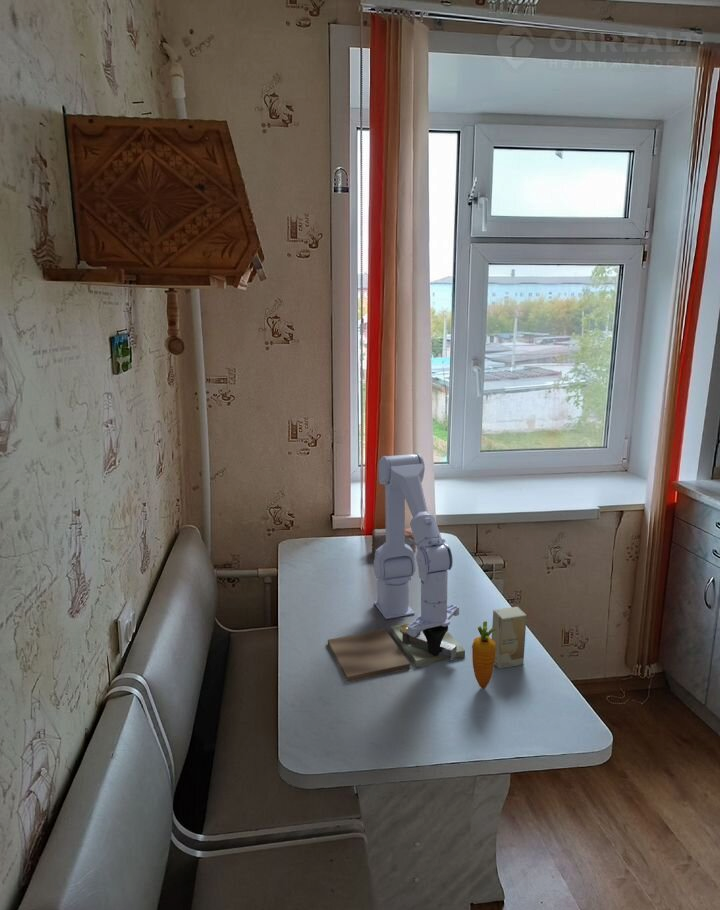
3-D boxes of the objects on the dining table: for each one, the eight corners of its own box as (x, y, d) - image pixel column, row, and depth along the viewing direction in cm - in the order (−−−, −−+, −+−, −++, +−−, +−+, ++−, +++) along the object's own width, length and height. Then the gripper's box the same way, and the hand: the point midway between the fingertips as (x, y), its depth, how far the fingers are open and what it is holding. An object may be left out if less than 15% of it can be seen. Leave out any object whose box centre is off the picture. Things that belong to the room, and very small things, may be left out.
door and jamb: (327, 644, 149) (327, 629, 148) (435, 623, 157) (435, 609, 156) (347, 681, 134) (346, 665, 133) (464, 656, 143) (465, 641, 142)
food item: (412, 548, 205) (412, 520, 202) (417, 558, 197) (417, 529, 195) (371, 551, 203) (370, 522, 201) (374, 561, 196) (373, 531, 193)
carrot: (478, 678, 134) (479, 615, 131) (499, 687, 131) (501, 622, 128) (466, 689, 131) (467, 624, 127) (487, 698, 128) (489, 632, 124)
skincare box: (499, 669, 138) (500, 619, 135) (489, 658, 142) (491, 609, 139) (525, 664, 139) (527, 614, 136) (515, 654, 143) (517, 605, 140)
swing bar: (397, 641, 146) (397, 628, 145) (404, 635, 148) (404, 622, 148) (450, 661, 138) (450, 647, 137) (457, 654, 140) (457, 641, 139)
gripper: (424, 615, 129) (424, 674, 132) (470, 593, 138) (469, 648, 141) (400, 603, 134) (400, 660, 137) (445, 583, 143) (445, 637, 146)
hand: (433, 653), depth 139 cm, fingers closed
